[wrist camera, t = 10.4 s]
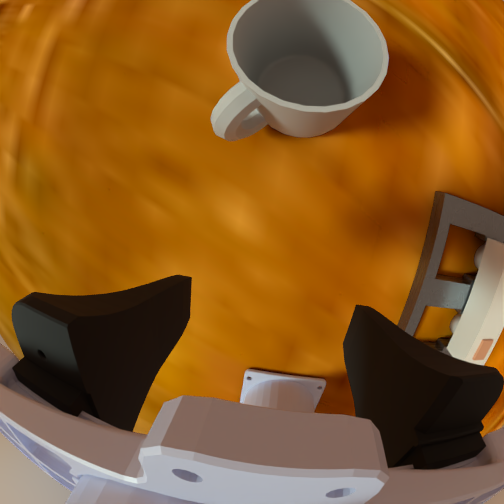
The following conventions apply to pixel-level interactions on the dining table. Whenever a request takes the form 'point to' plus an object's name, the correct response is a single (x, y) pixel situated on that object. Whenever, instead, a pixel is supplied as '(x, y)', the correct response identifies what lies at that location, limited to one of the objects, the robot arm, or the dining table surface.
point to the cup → (299, 67)
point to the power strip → (481, 308)
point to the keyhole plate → (426, 279)
